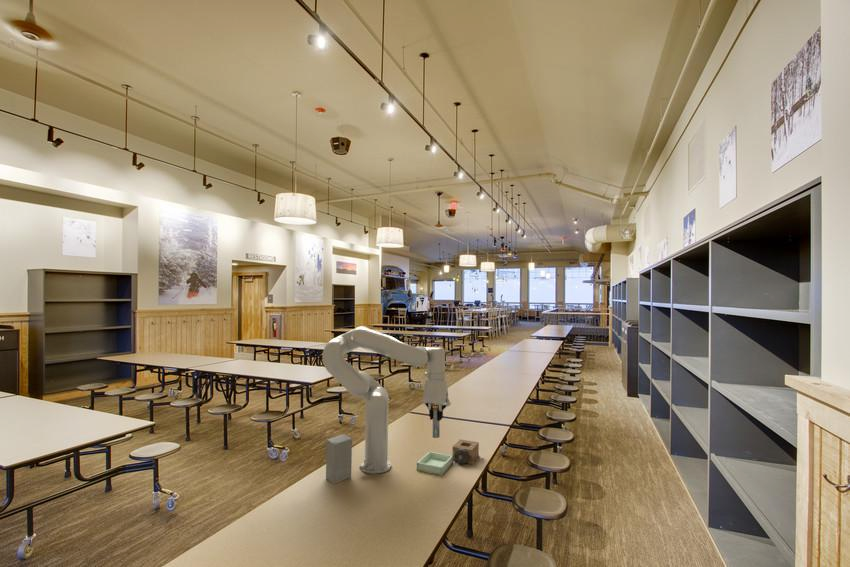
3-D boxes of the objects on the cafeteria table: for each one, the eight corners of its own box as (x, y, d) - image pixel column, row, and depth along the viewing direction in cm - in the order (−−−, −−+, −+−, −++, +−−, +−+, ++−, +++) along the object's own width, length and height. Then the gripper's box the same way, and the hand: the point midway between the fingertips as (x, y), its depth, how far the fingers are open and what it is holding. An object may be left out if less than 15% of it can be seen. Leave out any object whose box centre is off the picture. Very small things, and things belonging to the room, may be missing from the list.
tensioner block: (470, 466, 164) (470, 452, 164) (450, 462, 167) (450, 448, 168) (478, 455, 175) (478, 442, 175) (459, 452, 179) (460, 439, 179)
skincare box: (342, 472, 157) (343, 433, 157) (352, 478, 152) (353, 437, 152) (324, 479, 151) (325, 438, 152) (334, 485, 146) (334, 442, 146)
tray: (441, 475, 155) (441, 467, 155) (416, 469, 160) (416, 462, 160) (452, 462, 167) (452, 455, 167) (429, 458, 172) (429, 451, 172)
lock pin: (438, 438, 162) (438, 406, 162) (430, 437, 163) (430, 405, 164) (441, 436, 165) (441, 404, 166) (433, 434, 166) (433, 403, 167)
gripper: (415, 376, 165) (415, 419, 164) (450, 379, 158) (450, 424, 158) (422, 373, 172) (422, 414, 171) (456, 376, 165) (457, 419, 164)
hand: (436, 418), depth 164 cm, fingers closed on lock pin, 3 cm apart
